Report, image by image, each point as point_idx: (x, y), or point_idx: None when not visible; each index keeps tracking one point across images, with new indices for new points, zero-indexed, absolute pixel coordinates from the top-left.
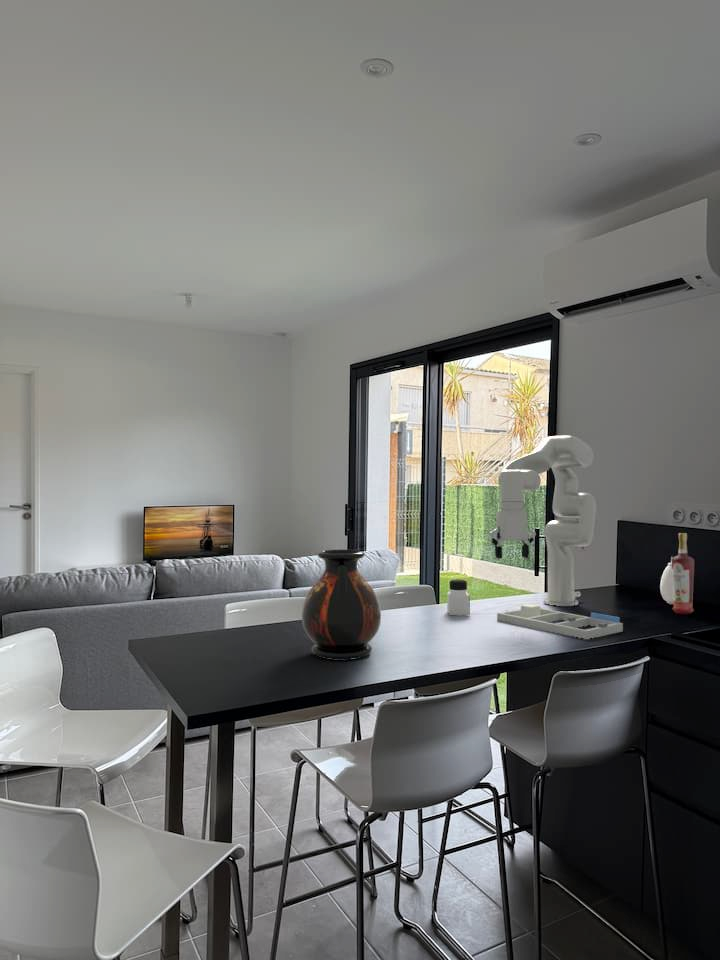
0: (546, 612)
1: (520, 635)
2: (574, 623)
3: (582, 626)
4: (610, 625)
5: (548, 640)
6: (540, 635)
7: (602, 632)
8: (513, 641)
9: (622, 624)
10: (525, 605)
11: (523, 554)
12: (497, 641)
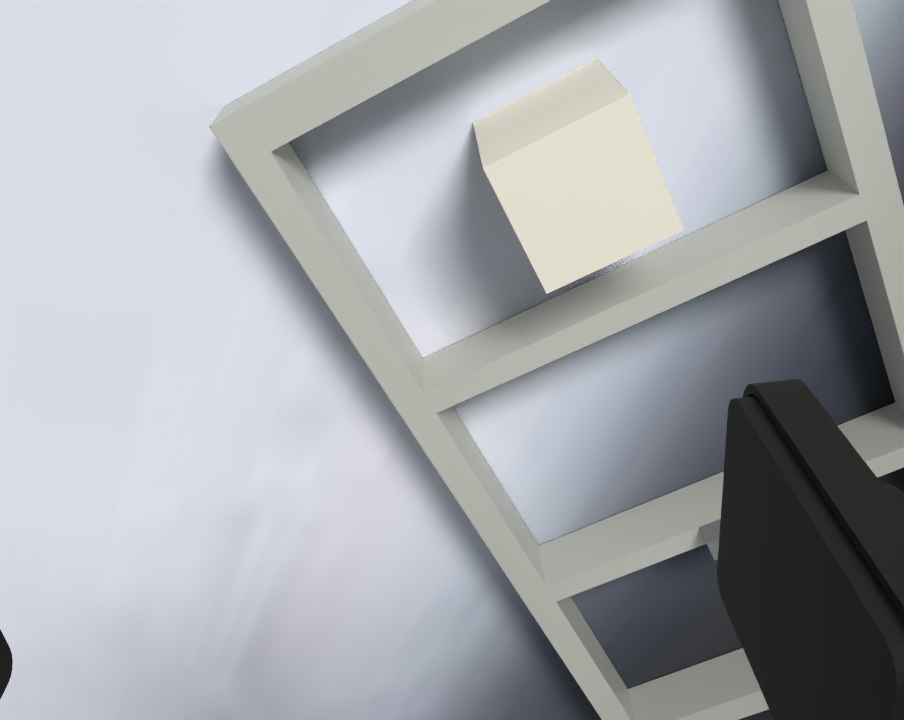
0: (810, 53)
1: (269, 595)
2: None
3: None
4: None
5: (395, 703)
6: (400, 609)
7: None
8: (182, 700)
9: None
10: (535, 178)
11: (750, 520)
12: (85, 691)
